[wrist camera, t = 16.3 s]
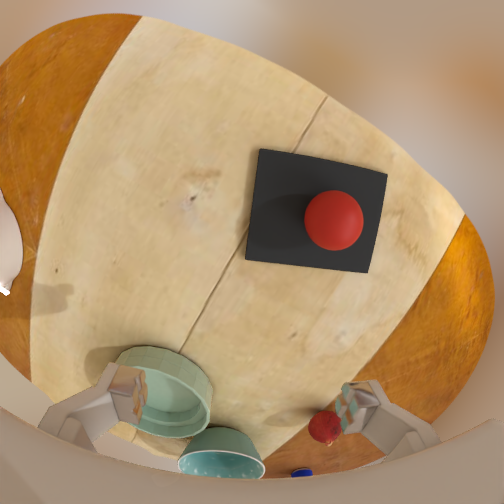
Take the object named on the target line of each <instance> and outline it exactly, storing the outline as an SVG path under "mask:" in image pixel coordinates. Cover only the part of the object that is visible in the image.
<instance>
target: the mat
mask: <svg viewBox="0 0 504 504" xmlns="http://www.w3.org/2000/svg"><path fill="white" fill-rule="evenodd" d="M387 176H388V174H384V173H381V172H377V171H373V170H369V169H365V168H361V167H357V166H353V165H348V164H344V163H339V162H335V161H330V160H325V159H320V158H315V157H310V156H304V155H299V154H293V153H287V152H281V151H274V150H267V149H260V150H259V157H258V165H257V172H256V180H255V187H254V195H253V202H252V210H251V217H250V225H249V233H248V240H247V248H246V256H245V260H253V261H262V262H270V263H279V264H288V265H297V266H305V267H314V268H323V269H332V270H341V271H351V272H360V273H368V270H369V266H370V262H371V258H372V254H373V250H374V245H375V241H376V236H377V232H378V227H379V222H380V217H381V212H382V206H383V201H384V195H385V189H386V183H387ZM330 190H337V191H341V192H345V193H347V194H348V195H350V196H352V197H353V198H354V199H355V200H356V201H357V203H358V204H359V206H360V208H361V210H362V213H363V229H362V232H361V234H360V236H359V238H358V239H357V240H356V241H355V242H354V243H353V244H352V245H351V246H349V247H347V248H345V249H342V250H336V251H333V250H327V249H324V248H322V247H320V246H318V245H317V244H315V243H314V242H313V241H312V239H311V238H310V237H309V235H308V233H307V231H306V228H305V223H304V218H305V212H306V209H307V207H308V205H309V203H310V202H311V200H312V199H313V198H314V197H316V196H317V195H318V194H320V193H322V192H325V191H330Z"/></svg>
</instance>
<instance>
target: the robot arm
mask: <svg viewBox="0 0 504 504" xmlns="http://www.w3.org/2000/svg"><path fill="white" fill-rule="evenodd" d="M22 260H23V246H22V238H21V234H20V229H19V226H18V223H17V220H16V218H15V216H14V214H13V212H12V210H11V209H10V207H9V206H8V205H7V204H6V202H5V200H4V197H3V194H2V191H1V189H0V291H1V292H2V293H4V294H5V295H7V294H9V290H10V289H11V285H12V281H13V279H14V278H15V277H16V276H17V275H18V274H19V272H20V269H21V266H22ZM145 378H146V374H145V371H144V370H142V369H137V368H133V367H129V366H125V365H120V364H116V363H112V362H110V363H108V364H107V366H106V368H105V369H104V371H103V373H102V375H101V377H100V378H99V380H98V382H97V384H96V386H95V387H90V388H88V389H86V390H84V391H82V392H80V393H77V394H75V395H73V396H71V397H69V398H67V399H65V400H63V401H61V402H59V403H57V404H55V405H53V406H51V407H49V408H48V410H47V412H46V413H45V415H44V417H43V418H42V420H41V422H40V424H39V425H38V427H35V426H33V425H31V424H29V423H27V422H26V421H24V420H22V419H20V418H19V417H17V416H15V415H13V414H12V413H10V412H8V411H7V410H5V409H3V408H2V407H0V504H504V422H502V421H500V420H496V419H489V420H487V421H485V422H483V423H482V424H480V425H478V426H476V427H474V428H472V429H470V430H468V431H466V432H464V433H462V434H460V435H458V436H456V437H453V438H451V439H449V440H447V441H444V442H441V441H440V439H439V437H438V436H437V434H436V432H435V431H434V429H433V427H432V426H431V425H430V424H429V423H427V422H425V421H423V420H421V419H420V418H418V417H416V416H415V415H413V414H411V413H409V412H408V411H406V410H404V409H403V408H401V407H399V406H397V405H396V404H394V403H390V401H389V399H388V398H387V396H386V394H385V393H384V391H383V389H382V387H381V386H380V384H379V382H378V381H377V380H368V381H358V382H346V383H344V384H343V386H342V388H341V390H342V393H341V394H340V395H338V397H337V399H336V402H335V411H336V414H337V416H338V417H340V418H341V419H342V420H341V422H340V425H341V428H342V431H343V433H344V434H351V433H358V432H361V433H362V434H363V435H364V436H365V437H366V438H367V439H368V440H370V441H371V442H372V443H373V444H374V445H375V446H376V447H378V448H379V449H380V450H381V451H382V452H383V453H385V454H386V455H387V457H386V458H385V459H384V460H383V461H382V462H381V463H379V464H375V465H371V466H367V467H362V468H357V469H352V470H347V471H342V472H336V473H329V474H322V475H314V476H305V477H293V478H275V479H238V478H219V477H207V476H198V475H190V474H183V473H176V472H170V471H165V470H159V469H154V468H150V467H145V466H141V465H137V464H133V463H129V462H125V461H122V460H118V459H115V458H111V457H108V456H105V455H102V454H99V453H97V451H96V449H95V448H94V446H93V444H92V442H94V441H95V440H96V439H98V438H99V437H100V436H102V435H103V434H104V433H106V432H107V431H108V430H109V429H111V428H112V427H113V426H115V425H116V424H117V423H118V422H119V421H123V422H128V423H132V424H137V425H139V423H140V420H141V417H142V414H143V412H142V407H143V406H145V405H146V401H147V396H148V387H147V384H146V383H145V382H144V381H145Z"/></svg>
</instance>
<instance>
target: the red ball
mask: <svg viewBox="0 0 504 504" xmlns="http://www.w3.org/2000/svg"><path fill="white" fill-rule="evenodd" d="M304 223H305V228H306V231H307V233H308V235H309V237H310V238H311V239H312V241H313V242H314V243H315V244H317V245H318V246H320V247H322V248H324V249H327V250H333V251H336V250H342V249H345V248H347V247H349V246H351V245H352V244H353V243H354V242H355V241H356V240H357V239H358V238H359V236H360V234H361V232H362V229H363V213H362V210H361V208H360V206H359V204H358V203H357V201H356V200H355V199H354V198H353V197H352V196H350V195H348V194H347V193H345V192H341V191H337V190H330V191H325V192H322V193H320V194H318V195H317V196H316V197H314V198H313V199H312V200H311V202H310V203H309V205H308V207H307V209H306V212H305V218H304Z"/></svg>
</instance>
